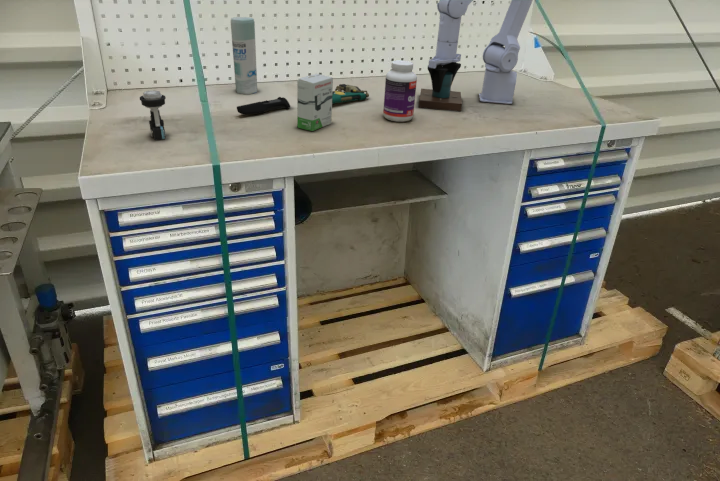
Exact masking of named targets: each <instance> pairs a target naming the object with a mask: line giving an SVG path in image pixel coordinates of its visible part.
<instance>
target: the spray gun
mask: <svg viewBox="0 0 720 481" xmlns="http://www.w3.org/2000/svg"><path fill="white" fill-rule="evenodd" d="M367 98H370V94H369V93H368V90H363V89H361V88H359V86H356V85H351V84H345V83H342V84H341V83H340V84H338V85H337V86H336V87H335V89H334V90H332V105H333V104H341V103H346V102H353V101H354V102H355V101H365V100H366V99H367Z"/></svg>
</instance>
